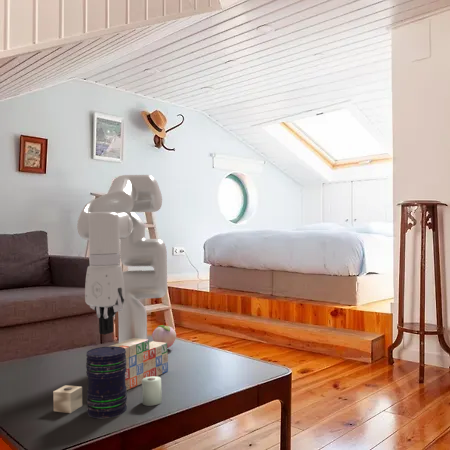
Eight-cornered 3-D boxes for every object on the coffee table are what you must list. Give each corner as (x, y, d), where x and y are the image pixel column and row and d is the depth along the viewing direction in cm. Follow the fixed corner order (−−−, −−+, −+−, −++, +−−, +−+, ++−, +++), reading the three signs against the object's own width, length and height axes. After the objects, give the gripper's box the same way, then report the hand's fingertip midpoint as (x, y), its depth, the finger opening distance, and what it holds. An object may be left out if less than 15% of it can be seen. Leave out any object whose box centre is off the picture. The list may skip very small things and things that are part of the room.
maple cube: (53, 411, 117) (53, 391, 118) (65, 404, 122) (65, 384, 122) (70, 413, 116) (70, 392, 116) (82, 406, 121) (82, 386, 121)
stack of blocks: (153, 369, 152) (152, 331, 152) (168, 371, 149) (167, 333, 149) (106, 389, 134) (105, 346, 134) (122, 392, 130) (121, 348, 131)
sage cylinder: (138, 404, 121) (137, 380, 121) (150, 397, 126) (149, 375, 126) (153, 406, 119) (153, 382, 119) (165, 400, 123) (164, 377, 123)
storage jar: (112, 420, 111) (111, 357, 111) (78, 415, 114) (77, 354, 114) (134, 405, 120) (133, 347, 120) (102, 401, 123) (101, 345, 124)
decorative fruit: (181, 349, 177) (180, 322, 177) (164, 353, 171) (163, 326, 171) (165, 345, 183) (165, 320, 183) (148, 349, 177) (148, 323, 177)
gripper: (73, 261, 119) (74, 332, 119) (114, 262, 110) (116, 340, 110) (96, 258, 125) (97, 327, 125) (137, 260, 117) (138, 333, 117)
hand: (106, 332), depth 118 cm, fingers closed
